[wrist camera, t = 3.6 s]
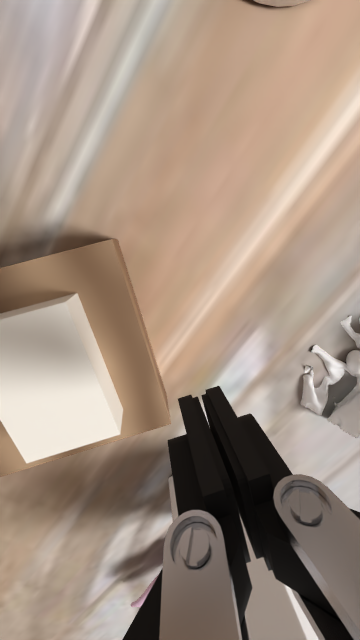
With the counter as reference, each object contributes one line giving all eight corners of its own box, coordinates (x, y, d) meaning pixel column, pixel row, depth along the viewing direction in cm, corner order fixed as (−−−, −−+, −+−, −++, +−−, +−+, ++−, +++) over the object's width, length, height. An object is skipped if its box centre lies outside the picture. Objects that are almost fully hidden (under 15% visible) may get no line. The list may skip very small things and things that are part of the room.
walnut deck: (117, 239, 18) (111, 239, 15) (166, 393, 23) (171, 423, 19) (-90, 293, 18) (-154, 307, 14) (3, 443, 22) (-25, 484, 18)
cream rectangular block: (77, 292, 15) (65, 302, 13) (123, 409, 18) (120, 434, 16) (-22, 319, 15) (-53, 334, 13) (41, 434, 18) (26, 463, 15)
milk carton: (254, 480, 28) (453, 903, 10) (201, 512, 28) (303, 979, 10) (224, 441, 26) (415, 900, 8) (167, 476, 26) (223, 998, 8)
